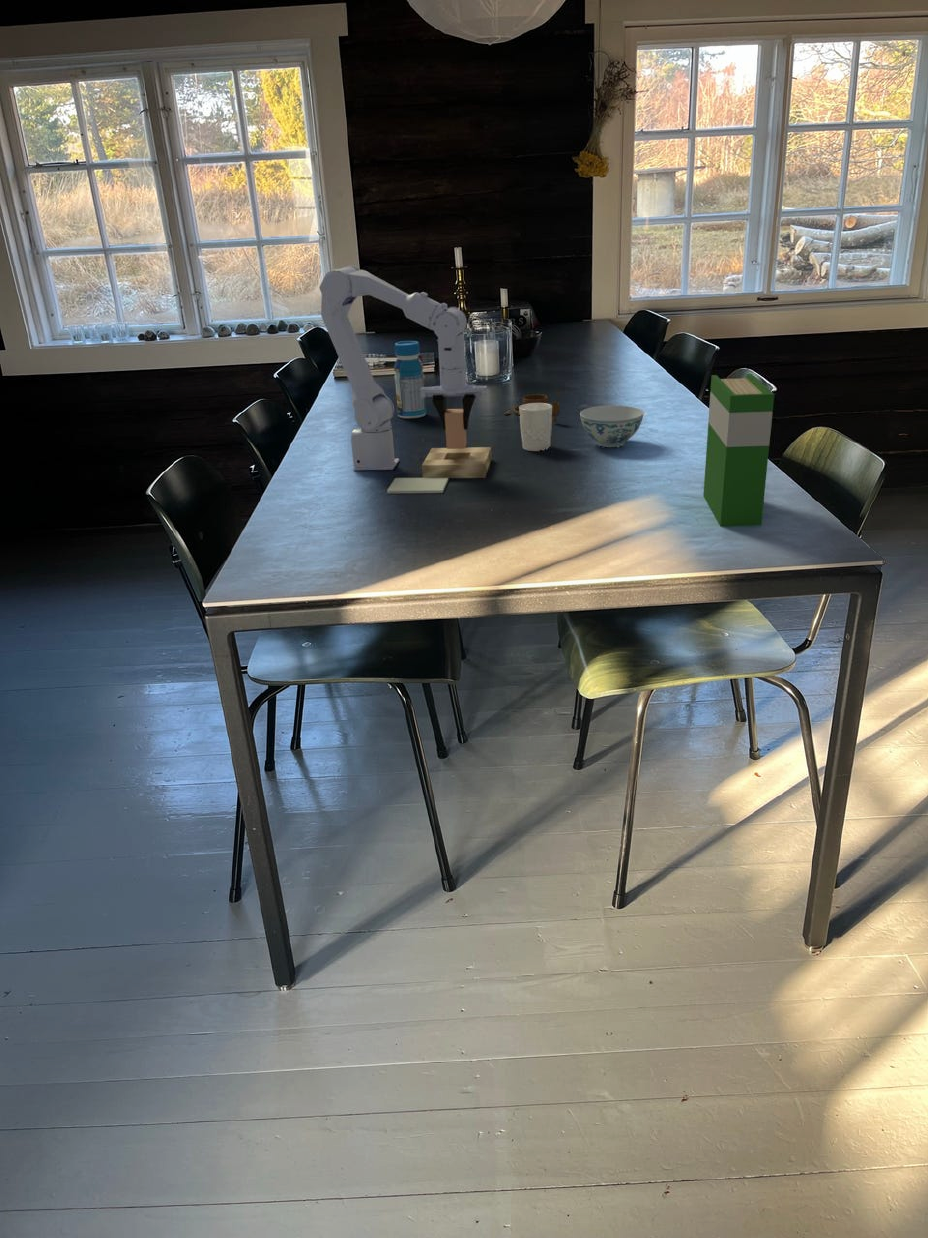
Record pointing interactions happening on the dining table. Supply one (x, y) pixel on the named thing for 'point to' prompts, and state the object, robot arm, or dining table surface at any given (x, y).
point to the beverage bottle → (409, 380)
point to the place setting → (537, 399)
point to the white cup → (535, 426)
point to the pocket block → (457, 463)
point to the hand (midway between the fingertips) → (455, 428)
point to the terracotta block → (455, 429)
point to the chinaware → (611, 424)
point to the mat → (418, 485)
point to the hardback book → (737, 450)
